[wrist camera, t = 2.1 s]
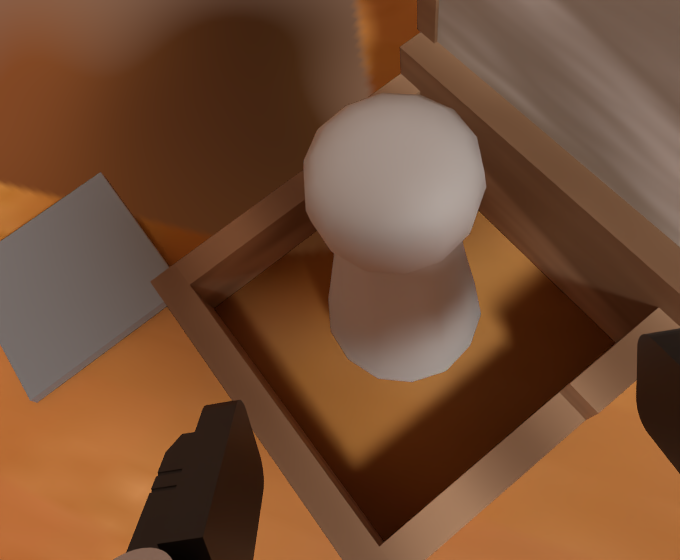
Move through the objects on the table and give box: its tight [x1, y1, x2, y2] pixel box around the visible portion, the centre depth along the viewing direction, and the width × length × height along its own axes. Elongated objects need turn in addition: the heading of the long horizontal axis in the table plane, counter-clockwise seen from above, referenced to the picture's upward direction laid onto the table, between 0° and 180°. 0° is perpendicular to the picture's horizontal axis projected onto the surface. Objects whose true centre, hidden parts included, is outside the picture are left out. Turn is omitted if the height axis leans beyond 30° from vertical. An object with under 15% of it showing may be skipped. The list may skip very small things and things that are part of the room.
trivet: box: [0, 172, 170, 402], centre depth 27 cm, size 8×8×1 cm
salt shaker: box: [304, 93, 486, 382], centre depth 19 cm, size 6×6×13 cm
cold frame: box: [150, 0, 680, 560], centre depth 17 cm, size 15×15×17 cm
